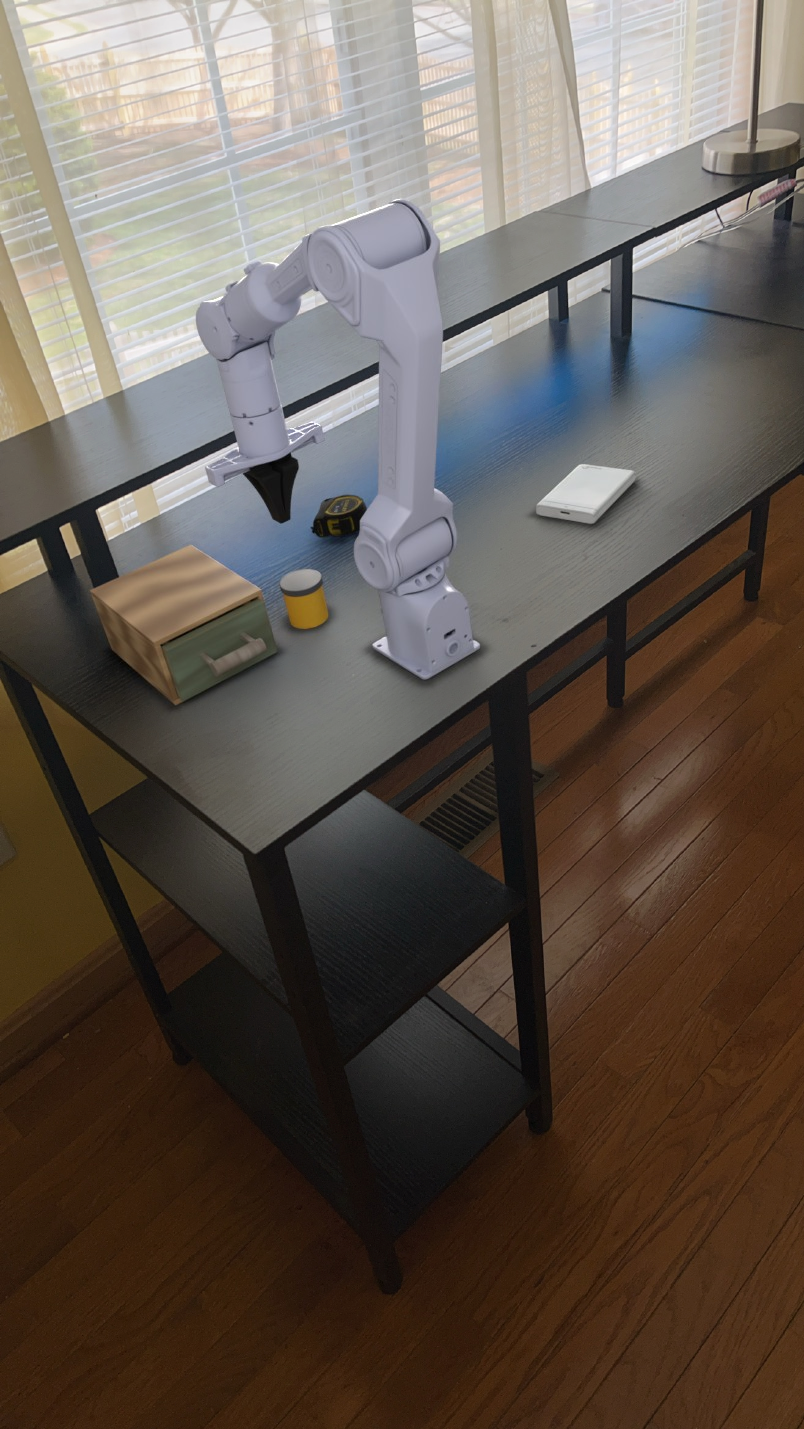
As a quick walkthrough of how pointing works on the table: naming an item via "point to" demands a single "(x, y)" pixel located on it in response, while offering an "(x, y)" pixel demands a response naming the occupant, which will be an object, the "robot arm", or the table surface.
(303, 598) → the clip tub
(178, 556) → the cabinet
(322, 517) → the tape measure
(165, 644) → the drawer
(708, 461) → the table surface
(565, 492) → the hard drive
